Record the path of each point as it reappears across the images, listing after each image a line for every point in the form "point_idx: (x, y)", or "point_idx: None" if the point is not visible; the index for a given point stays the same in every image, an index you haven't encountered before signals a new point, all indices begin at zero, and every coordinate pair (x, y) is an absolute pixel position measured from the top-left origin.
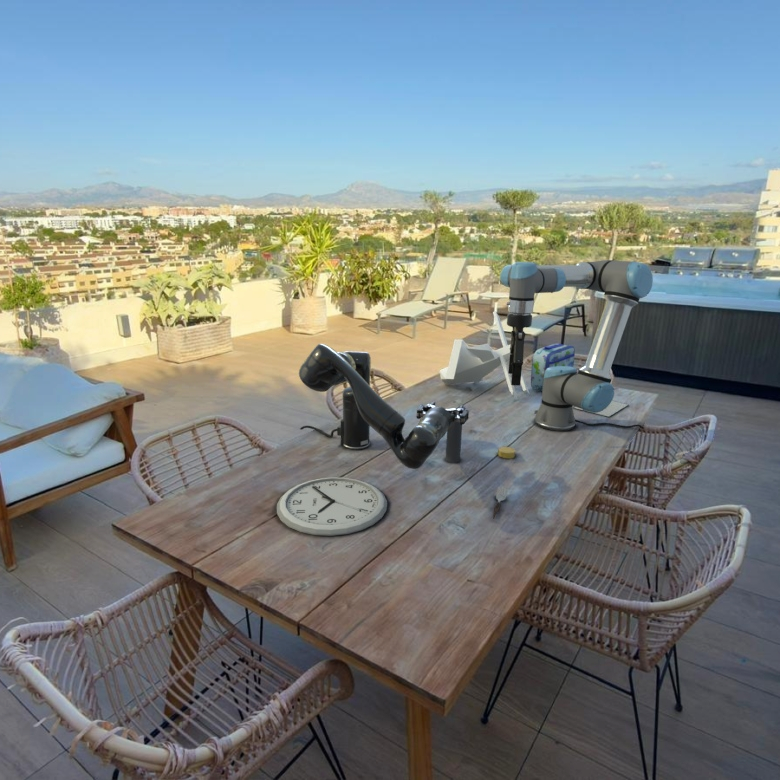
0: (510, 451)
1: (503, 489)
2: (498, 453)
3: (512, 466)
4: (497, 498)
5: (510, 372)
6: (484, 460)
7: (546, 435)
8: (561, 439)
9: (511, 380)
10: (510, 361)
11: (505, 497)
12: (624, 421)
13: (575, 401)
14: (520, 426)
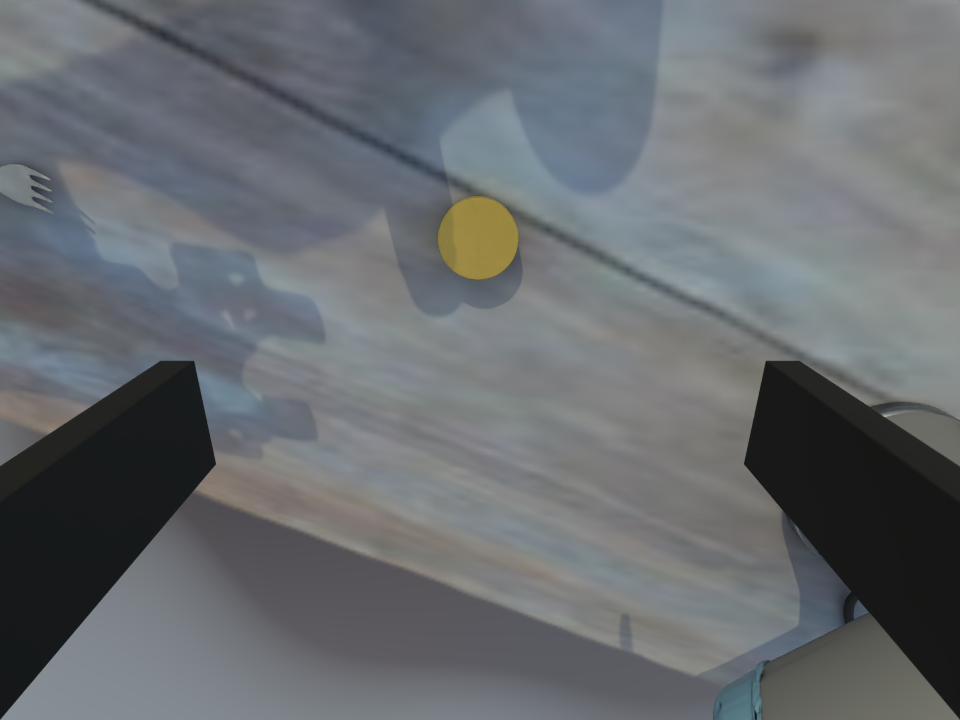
0: (462, 256)
1: (44, 198)
2: (474, 196)
3: (359, 255)
4: (3, 169)
5: (768, 394)
6: (393, 119)
7: (735, 433)
8: (691, 484)
9: (160, 384)
10: (901, 480)
11: (27, 205)
12: None
13: (798, 667)
14: (857, 330)
